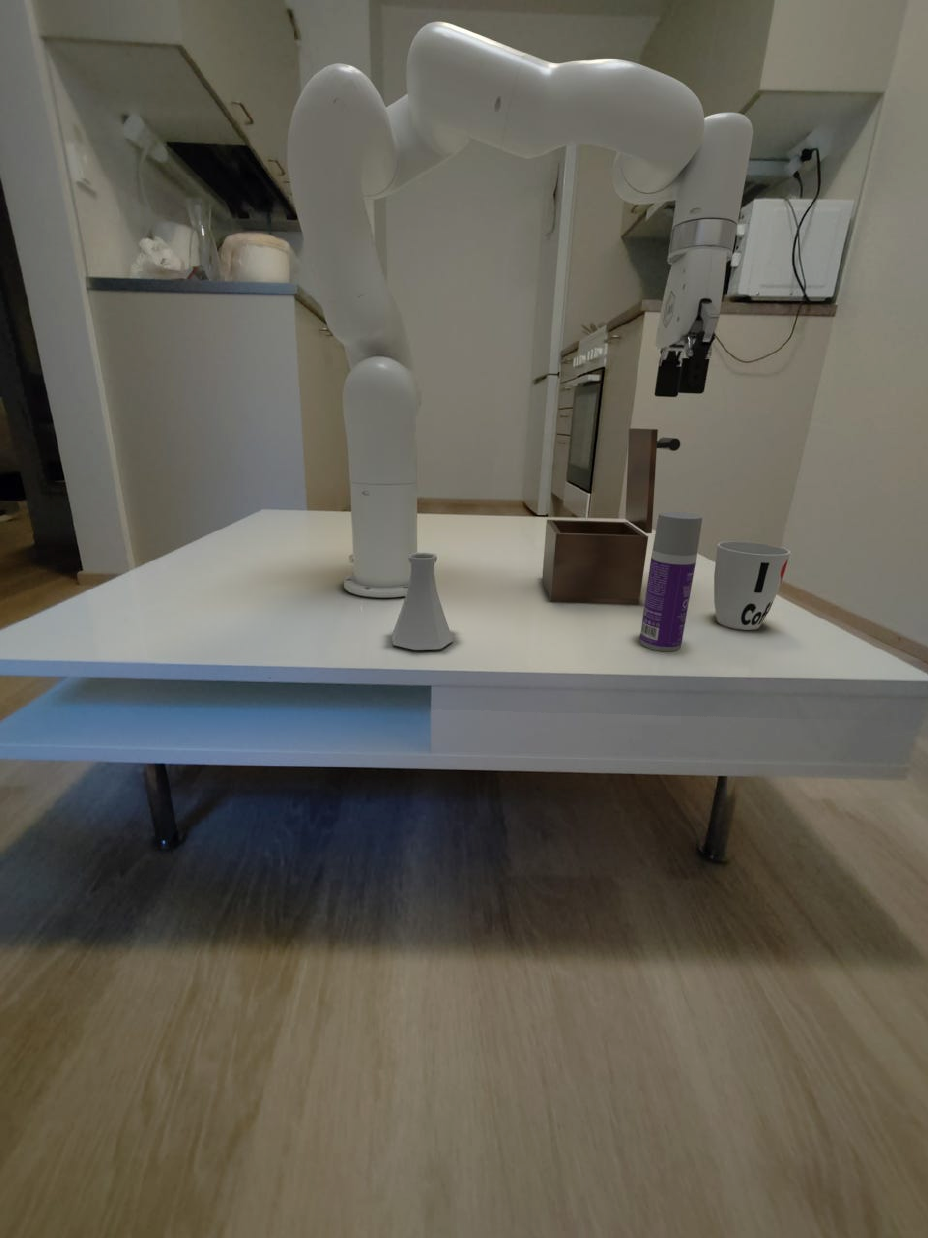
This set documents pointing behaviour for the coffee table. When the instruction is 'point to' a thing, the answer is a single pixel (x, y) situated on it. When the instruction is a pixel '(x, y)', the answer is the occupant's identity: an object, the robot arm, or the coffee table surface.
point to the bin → (593, 561)
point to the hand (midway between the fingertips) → (677, 394)
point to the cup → (747, 582)
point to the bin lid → (643, 474)
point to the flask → (422, 609)
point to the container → (670, 580)
